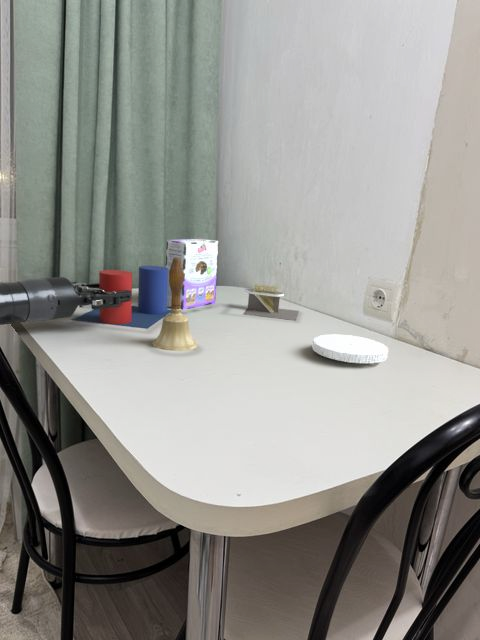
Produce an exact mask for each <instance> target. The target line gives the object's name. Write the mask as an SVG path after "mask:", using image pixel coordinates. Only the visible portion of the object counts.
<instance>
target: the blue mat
mask: <svg viewBox="0 0 480 640" xmlns="http://www.w3.org/2000/svg"><path fill="white" fill-rule="evenodd" d="M170 313H171V309H167V312H166V313H164V314H145V313H141V312H139V311H138V305H132V314H131V322H130V323H126V324H107V323H103V322H100V321H99V309H96V310H94V309H91V310H89V311H88V312H85V313H83V314H81V315H78V316H77V317H76V316H75V317H74V318H72V319H71V321H75V322H83V323H93V324H101V325H109V326H119V327H126V328H127V327H128V328H136V329H145V330H148V329H149V328H151V327H152V326H153V325H155V324H156V323H158V322H159V321H161V320H163V318H164V317H165V316H167V315H169V314H170Z"/></svg>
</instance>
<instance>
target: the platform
mask: <svg viewBox="0 0 480 640" xmlns="http://www.w3.org/2000/svg"><path fill="white" fill-rule="evenodd" d="M253 287H254V288H245V289H244V292H245V293H248V300H247V301H248V302H247V308H245V311H244V312H243V313H242V315H247V316H253V317H263V318H271V319H272V318H273V319H280V320H289V321H297V318H298V316H299V313H300V310H296V309H295V310H294V309H287V308H286V309H285V308H280V298H281V297H284V296H285V292H280V291H278V286H273V285H266V284H265V285H264V284H258V283H257V284H256V283H255V284H254V286H253Z"/></svg>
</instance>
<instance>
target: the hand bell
mask: <svg viewBox="0 0 480 640" xmlns="http://www.w3.org/2000/svg"><path fill="white" fill-rule="evenodd" d="M183 282H184V271H183V267H182V264H181V259H180V258H173V262H172V265H171V268H170V271H169V283H170V288H171V292H172V300H171V304H172V305H171V308H170V310H171V313H169V314H168V315H166V316H165V317H164V318H162V326H161V329H160V331H159V334H158V335H157V337H156V338H155V339H153V341H152V343H151V344H152V346H153V347H155V348H157V349H160V350H163V351H164V350H165V351H171V352H174V351H175V352H185V351H191V350H193V351H195V350H197V349H198V347H199V345H198V343H197V341H196V340H195V339H194V338H193V336H192V335H191V331H190V326H189V325H190V324H189V318H188V317H187V316H186V315H184V314H183V313H182V310H181V309H180V308H181V305H180V304H181V303H180V294H181V290H182V287H183Z"/></svg>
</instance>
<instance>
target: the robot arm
mask: <svg viewBox="0 0 480 640" xmlns="http://www.w3.org/2000/svg"><path fill="white" fill-rule="evenodd" d="M99 293H100V295H98V294H99ZM131 295H132V296H133V291H132V292H131V291H130V290H121V291H105V290H104V289H103V288H99V282H96V283H86V282H78V281H73V282H72V281H71V280H69V279H68V278H66V277H64V276H57V277H41V278H27V279H23V280H17V281H4V282H0V326H2V325H4V326H5V325H11V324H19V323H37V322H43V321H52V320H59V319H65V318H69V317H72V316H73V315H74V314H75V312H76V310H77V309H78V308H79V309H80V308H81V309H88V308H89V307H90V308H91V310H96V309H103V308H112V307H120V302H128V301H131Z"/></svg>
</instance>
